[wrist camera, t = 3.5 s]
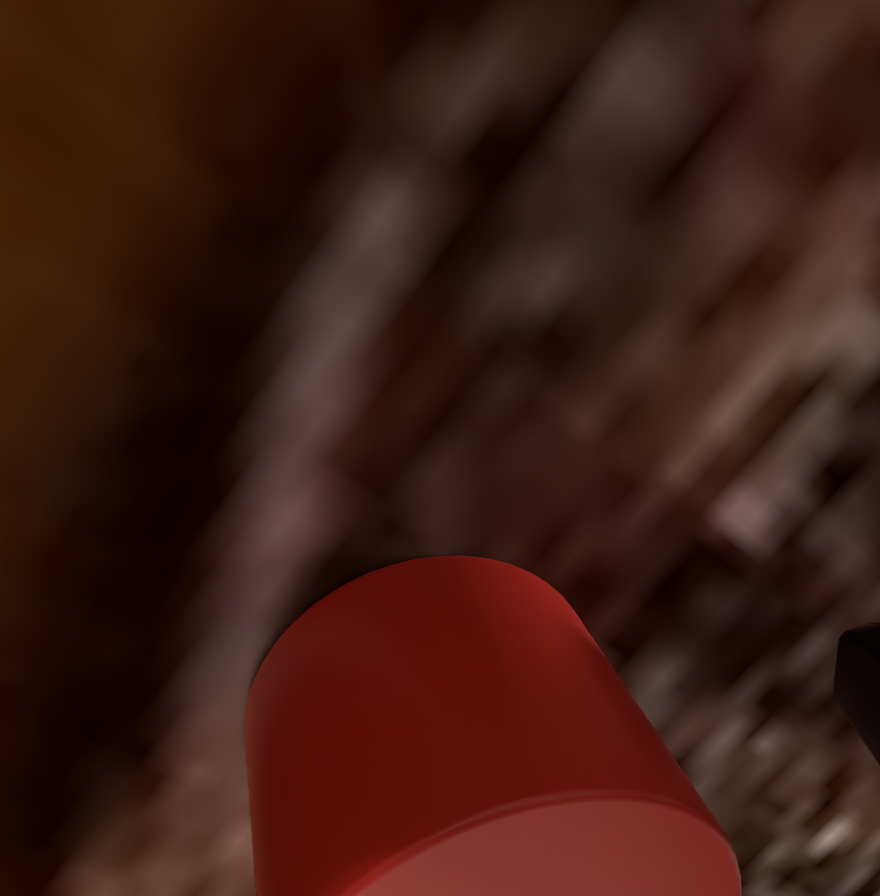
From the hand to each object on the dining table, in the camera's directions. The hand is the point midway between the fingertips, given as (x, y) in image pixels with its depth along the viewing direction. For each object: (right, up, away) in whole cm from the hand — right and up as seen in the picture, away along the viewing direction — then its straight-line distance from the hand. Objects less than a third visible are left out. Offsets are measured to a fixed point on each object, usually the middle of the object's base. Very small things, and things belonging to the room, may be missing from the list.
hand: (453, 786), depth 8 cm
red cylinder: (0, +1, +1) cm, 1 cm away
